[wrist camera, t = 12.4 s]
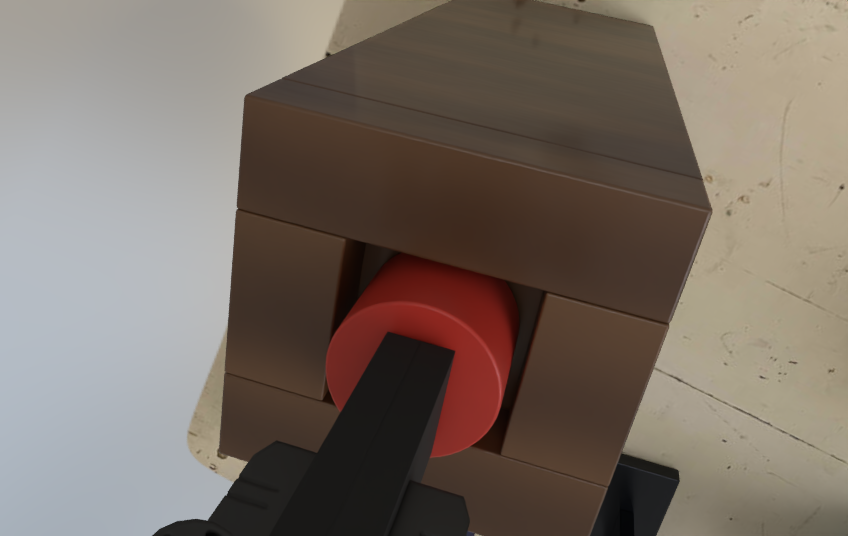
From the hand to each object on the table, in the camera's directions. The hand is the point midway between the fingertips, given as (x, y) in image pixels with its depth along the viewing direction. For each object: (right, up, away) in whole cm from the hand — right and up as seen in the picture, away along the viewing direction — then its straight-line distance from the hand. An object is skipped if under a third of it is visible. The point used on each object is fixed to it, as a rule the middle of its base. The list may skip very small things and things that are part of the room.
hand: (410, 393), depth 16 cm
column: (+7, +13, +28) cm, 32 cm away
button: (+1, +1, +3) cm, 3 cm away
